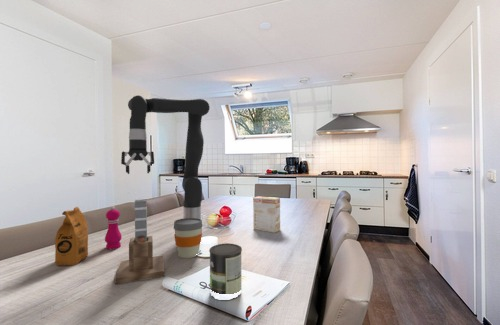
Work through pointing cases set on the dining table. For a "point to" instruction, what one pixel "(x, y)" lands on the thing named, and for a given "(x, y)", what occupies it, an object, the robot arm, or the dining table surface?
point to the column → (141, 219)
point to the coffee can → (225, 268)
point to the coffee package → (71, 239)
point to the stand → (140, 262)
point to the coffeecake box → (266, 213)
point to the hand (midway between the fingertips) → (138, 173)
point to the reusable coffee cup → (188, 236)
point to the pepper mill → (113, 229)
